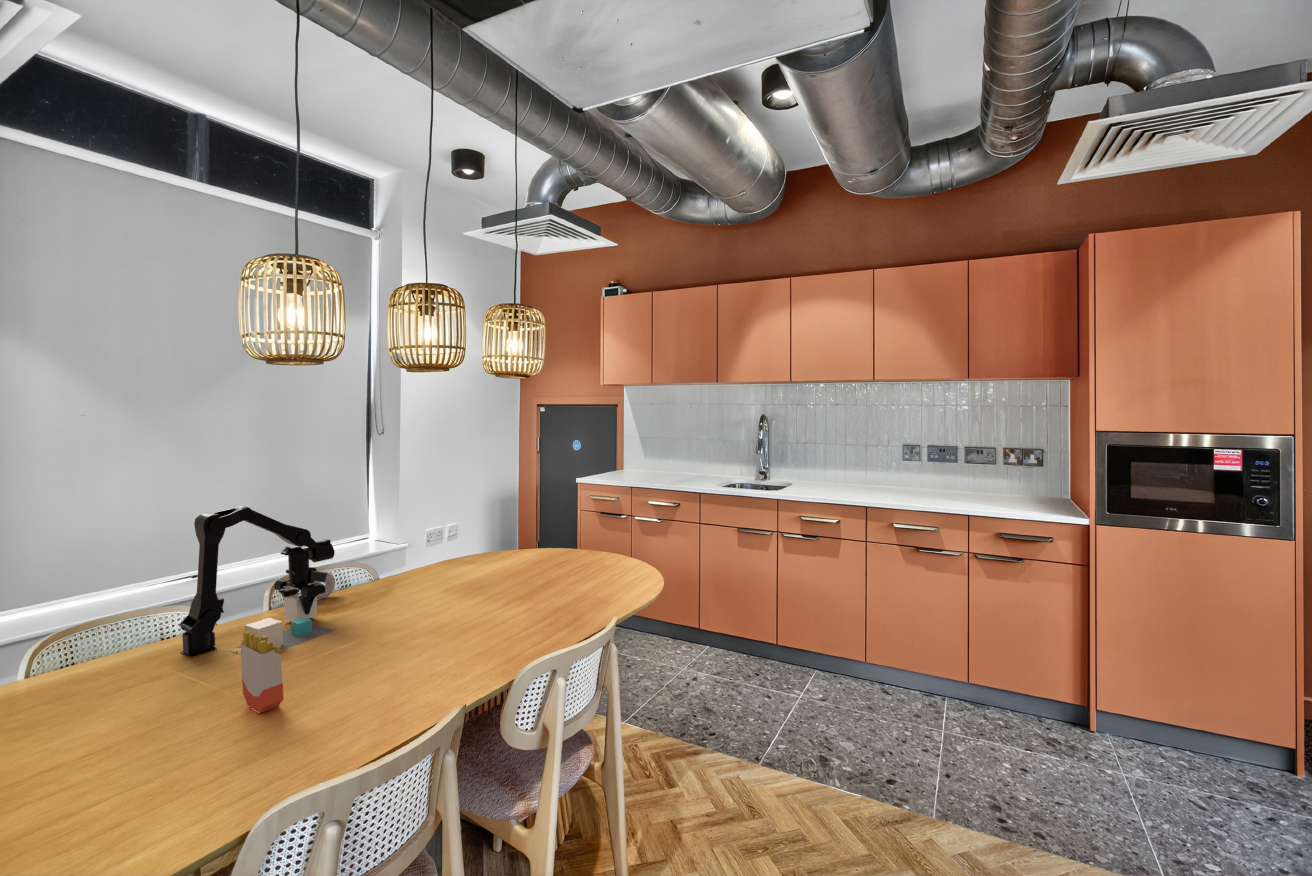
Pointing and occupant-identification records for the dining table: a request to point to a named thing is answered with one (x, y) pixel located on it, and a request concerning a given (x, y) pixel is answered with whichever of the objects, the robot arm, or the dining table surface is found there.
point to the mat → (293, 640)
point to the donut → (327, 586)
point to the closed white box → (297, 608)
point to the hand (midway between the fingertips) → (300, 612)
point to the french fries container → (261, 672)
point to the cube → (301, 627)
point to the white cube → (267, 630)
